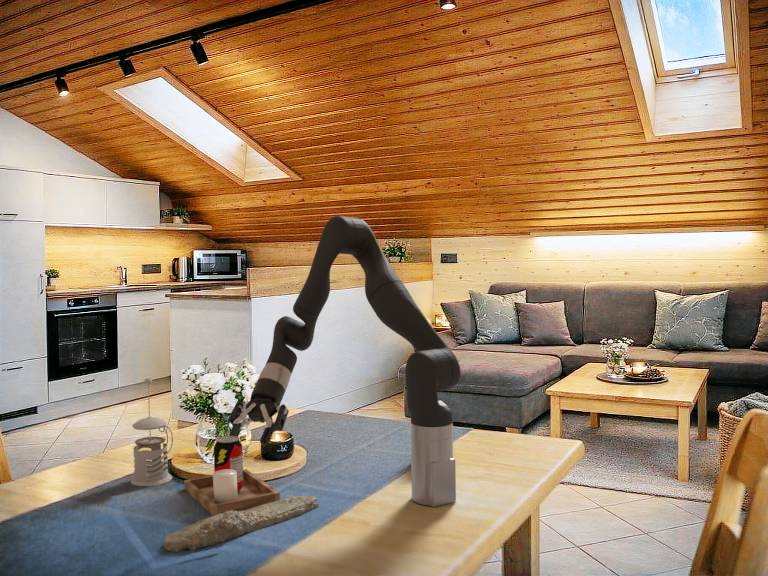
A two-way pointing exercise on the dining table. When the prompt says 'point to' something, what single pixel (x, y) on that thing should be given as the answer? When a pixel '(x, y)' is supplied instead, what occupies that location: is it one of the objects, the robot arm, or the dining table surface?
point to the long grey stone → (238, 523)
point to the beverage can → (229, 456)
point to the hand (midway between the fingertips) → (247, 442)
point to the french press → (151, 452)
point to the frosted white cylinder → (225, 486)
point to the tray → (248, 495)
